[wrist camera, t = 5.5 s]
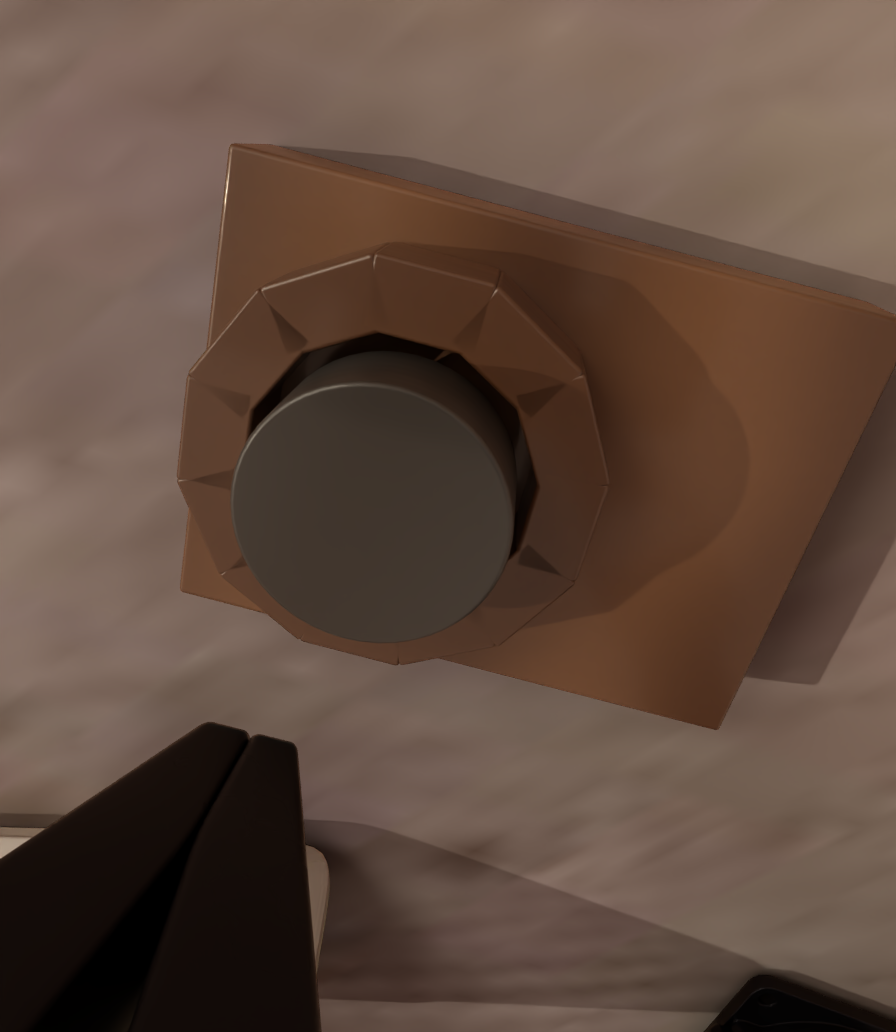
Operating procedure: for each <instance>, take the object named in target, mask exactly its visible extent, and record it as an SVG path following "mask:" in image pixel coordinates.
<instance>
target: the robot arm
mask: <svg viewBox="0 0 896 1032" xmlns="http://www.w3.org/2000/svg"><path fill="white" fill-rule="evenodd" d="M0 1032H321V1020H320V1008H319V996H318V984H317V973H316V961H315V949H314V937H313V926H312V914H311V902H310V890H309V878H308V867H307V855H306V843H305V831H304V820H303V808H302V796H301V784H300V772H299V761H298V750H297V748H296V746H295V744H294V743H292V742H289V741H285V740H281V739H277V738H273V737H269V736H265V735H261V734H257V735H254V736H252V737H251V738H250V736H249V734H248V733H247V732H246V731H245V730H242V729H238V728H234V727H230V726H226V725H222V724H218V723H214V722H207V723H203V724H201V725H199V726H198V727H196V728H195V729H193V730H192V731H190V732H189V733H187V734H186V735H184V736H183V737H181V738H180V739H178V740H177V741H175V742H174V743H172V744H171V745H169V746H168V747H166V748H165V749H163V750H162V751H160V752H159V753H157V754H156V755H154V756H153V757H151V758H150V759H148V760H147V761H146V762H144V763H143V764H141V765H140V766H138V767H137V768H135V769H134V770H132V771H131V772H129V773H128V774H126V775H125V776H123V777H122V778H120V779H119V780H117V781H116V782H114V783H113V784H111V785H110V786H108V787H107V788H105V789H104V790H102V791H101V792H99V793H98V794H96V795H95V796H93V797H92V798H90V799H89V800H87V801H86V802H84V803H83V804H81V805H80V806H78V807H77V808H75V809H74V810H72V811H71V812H69V813H68V814H66V815H65V816H63V817H62V818H60V819H59V820H57V821H56V822H54V823H53V824H51V825H50V826H48V827H47V828H45V829H44V830H42V831H41V832H39V833H38V834H36V835H35V836H33V837H32V838H30V839H29V840H27V841H26V842H24V843H23V844H21V845H20V846H18V847H17V848H15V849H14V850H12V851H11V852H9V853H8V854H6V855H5V856H3V857H2V858H0ZM704 1032H896V1022H894V1021H892V1020H889V1019H886V1018H884V1017H881V1016H878V1015H875V1014H873V1013H870V1012H867V1011H865V1010H862V1009H859V1008H857V1007H854V1006H851V1005H849V1004H846V1003H843V1002H840V1001H838V1000H835V999H832V998H830V997H827V996H824V995H822V994H819V993H816V992H814V991H811V990H808V989H805V988H803V987H800V986H797V985H795V984H792V983H789V982H787V981H784V980H781V979H778V978H776V977H773V976H769V975H759V976H756V977H753V978H751V979H750V980H749V981H748V982H747V983H746V984H745V985H744V986H743V987H742V989H741V990H740V991H739V992H738V993H737V994H736V995H735V997H734V998H733V999H732V1000H731V1001H730V1002H729V1003H728V1005H727V1006H726V1007H725V1008H724V1009H723V1010H722V1012H721V1013H720V1014H719V1015H718V1016H717V1017H716V1018H715V1020H714V1021H713V1022H712V1023H711V1024H710V1025H709V1026H708V1028H707V1029H706V1030H705V1031H704Z"/></svg>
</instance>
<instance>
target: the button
mask: <svg viewBox="0 0 896 1032" xmlns="http://www.w3.org/2000/svg"><path fill="white" fill-rule="evenodd" d="M516 484H517V472H516V460H515V455H514V450H513V446H512V443H511V440H510V437H509V434H508V432H507V429H506V428H505V426H504V424H503V422H502V420H501V418H500V416H499V414H498V413H497V412H496V410H495V409H494V407H493V406H492V404H491V403H490V402H489V400H488V399H487V398H486V397H485V396H484V395H483V394H482V393H481V392H480V391H479V389H477V388H476V387H475V386H474V385H473V384H472V383H470V382H469V381H468V380H467V379H466V378H464V377H463V376H461V375H460V374H458V373H457V372H455V371H453V370H452V369H450V368H448V367H446V366H444V365H442V364H440V363H438V362H436V361H434V360H431V359H428V358H425V357H422V356H419V355H414V354H409V353H404V352H395V351H372V352H363V353H358V354H353V355H349V356H346V357H343V358H340V359H337V360H335V361H332V362H330V363H328V364H326V365H325V366H323V367H321V368H319V369H317V370H316V371H315V372H313V373H312V374H310V375H309V376H308V377H306V378H305V379H304V380H303V381H302V382H301V383H300V384H299V385H298V386H297V387H296V388H295V389H294V390H293V391H292V392H291V393H290V394H288V395H287V396H286V397H285V398H284V399H283V400H282V401H281V402H280V403H279V404H278V405H277V406H276V407H275V408H274V409H273V410H272V411H271V412H270V413H269V414H268V415H267V416H266V417H265V418H264V419H263V420H262V421H261V422H260V423H259V424H258V426H257V427H256V428H255V430H254V431H253V432H252V434H251V435H250V436H249V438H248V440H247V441H246V443H245V445H244V447H243V449H242V450H241V452H240V455H239V458H238V460H237V463H236V466H235V469H234V474H233V479H232V483H231V497H230V505H231V518H232V523H233V528H234V533H235V537H236V540H237V543H238V545H239V548H240V551H241V553H242V555H243V557H244V559H245V561H246V563H247V565H248V567H249V569H250V570H251V572H252V573H253V575H254V576H255V578H256V579H257V581H258V582H259V583H260V584H261V586H262V587H263V588H264V589H265V590H266V591H267V593H268V594H269V595H270V596H271V597H272V598H273V599H274V600H276V601H277V602H278V603H279V604H280V605H281V606H282V607H283V608H285V609H286V610H287V611H289V612H290V613H291V614H293V615H294V616H295V617H297V618H299V619H300V620H302V621H304V622H306V623H307V624H309V625H311V626H313V627H315V628H317V629H319V630H322V631H324V632H326V633H329V634H332V635H335V636H338V637H341V638H345V639H350V640H355V641H360V642H369V643H398V642H405V641H412V640H416V639H420V638H424V637H428V636H430V635H433V634H435V633H438V632H440V631H443V630H445V629H447V628H449V627H450V626H452V625H454V624H456V623H458V622H459V621H461V620H462V619H463V618H465V617H466V616H467V615H469V614H470V613H471V612H473V611H474V610H475V609H476V608H477V607H478V606H479V605H480V604H481V603H482V602H483V601H484V600H485V599H486V598H487V596H488V595H489V594H490V592H491V591H492V590H493V589H494V587H495V586H496V584H497V582H498V580H499V579H500V577H501V575H502V573H503V571H504V569H505V566H506V563H507V561H508V558H509V555H510V551H511V546H512V542H513V533H514V519H515V502H516Z"/></svg>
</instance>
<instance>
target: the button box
mask: <svg viewBox="0 0 896 1032" xmlns="http://www.w3.org/2000/svg"><path fill="white" fill-rule="evenodd" d="M372 351H395V352H404V353H409V354H414V355H419V356H422V357H425V358H428V359H431V360H434V361H436V362H438V363H440V364H442V365H444V366H446V367H448V368H450V369H452V370H453V371H455V372H457V373H458V374H460V375H461V376H463V377H464V378H466V379H467V380H468V381H469V382H470V383H472V384H473V385H474V386H475V387H476V388H477V389H479V391H480V392H481V393H482V394H483V395H484V396H485V397H486V398H487V399H488V400H489V402H490V403H491V404H492V406H493V407H494V409H495V410H496V412H497V413H498V414H499V416H500V418H501V420H502V422H503V424H504V426H505V428H506V429H507V432H508V434H509V437H510V440H511V443H512V446H513V450H514V455H515V460H516V472H517V484H516V502H515V519H514V533H513V542H512V546H511V551H510V555H509V558H508V561H507V563H506V566H505V569H504V571H503V573H502V575H501V577H500V579H499V580H498V582H497V584H496V586H495V587H494V589H493V590H492V591H491V592H490V594H489V595H488V596H487V598H486V599H485V600H484V601H483V602H482V603H481V604H480V605H479V606H478V607H477V608H476V609H475V610H474V611H473V612H471V613H470V614H469V615H467V616H466V617H465V618H463V619H462V620H461V621H459V622H458V623H456V624H454V625H452V626H450V627H449V628H447V629H445V630H443V631H440V632H438V633H435V634H433V635H430V636H428V637H424V638H420V639H416V640H412V641H405V642H398V643H369V642H360V641H355V640H350V639H345V638H341V637H338V636H335V635H332V634H329V633H326V632H324V631H322V630H319V629H317V628H315V627H313V626H311V625H309V624H307V623H306V622H304V621H302V620H300V619H299V618H297V617H295V616H294V615H293V614H291V613H290V612H289V611H287V610H286V609H285V608H283V607H282V606H281V605H280V604H279V603H278V602H277V601H276V600H274V599H273V598H272V597H271V596H270V595H269V594H268V593H267V591H266V590H265V589H264V588H263V587H262V586H261V584H260V583H259V582H258V581H257V579H256V578H255V576H254V575H253V573H252V572H251V570H250V569H249V567H248V565H247V563H246V561H245V559H244V557H243V555H242V553H241V551H240V548H239V545H238V543H237V540H236V537H235V533H234V528H233V523H232V518H231V505H230V497H231V483H232V479H233V474H234V469H235V466H236V463H237V460H238V458H239V455H240V452H241V450H242V449H243V447H244V445H245V443H246V441H247V440H248V438H249V436H250V435H251V434H252V432H253V431H254V430H255V428H256V427H257V426H258V424H259V423H260V422H261V421H262V420H263V419H264V418H265V417H266V416H267V415H268V414H269V413H270V412H271V411H272V410H273V409H274V408H275V407H276V406H277V405H278V404H279V403H280V402H281V401H282V400H283V399H284V398H285V397H286V396H287V395H288V394H290V393H291V392H292V391H293V390H294V389H295V388H296V387H297V386H298V385H299V384H300V383H301V382H302V381H303V380H304V379H305V378H306V377H308V376H309V375H310V374H312V373H313V372H315V371H316V370H317V369H319V368H321V367H323V366H325V365H326V364H328V363H330V362H332V361H335V360H337V359H340V358H343V357H346V356H349V355H353V354H358V353H363V352H372ZM895 365H896V315H894V314H892V313H890V312H888V311H885V310H883V309H881V308H879V307H877V306H874V305H872V304H870V303H868V302H865V301H861V300H857V299H854V298H850V297H846V296H842V295H839V294H835V293H831V292H827V291H823V290H820V289H816V288H812V287H808V286H804V285H801V284H797V283H793V282H789V281H786V280H782V279H778V278H774V277H770V276H767V275H763V274H759V273H755V272H751V271H748V270H744V269H740V268H736V267H733V266H729V265H725V264H721V263H717V262H714V261H710V260H706V259H702V258H699V257H695V256H691V255H687V254H683V253H680V252H676V251H672V250H668V249H664V248H661V247H657V246H653V245H649V244H646V243H642V242H638V241H634V240H630V239H627V238H623V237H619V236H615V235H611V234H608V233H604V232H600V231H596V230H593V229H589V228H585V227H581V226H577V225H574V224H570V223H566V222H562V221H559V220H555V219H551V218H547V217H543V216H540V215H536V214H532V213H528V212H524V211H521V210H517V209H513V208H509V207H506V206H502V205H498V204H494V203H490V202H487V201H483V200H479V199H475V198H472V197H468V196H464V195H460V194H456V193H453V192H449V191H445V190H441V189H437V188H434V187H430V186H426V185H422V184H419V183H415V182H411V181H407V180H403V179H400V178H396V177H392V176H388V175H384V174H381V173H377V172H373V171H369V170H366V169H362V168H358V167H354V166H350V165H347V164H343V163H339V162H335V161H332V160H328V159H324V158H320V157H316V156H313V155H309V154H305V153H301V152H297V151H294V150H290V149H286V148H282V147H279V146H275V145H271V144H236V143H235V144H231V145H230V147H229V153H228V162H227V171H226V180H225V189H224V198H223V207H222V216H221V225H220V234H219V243H218V252H217V261H216V269H215V278H214V287H213V296H212V305H211V314H210V323H209V332H208V341H207V350H206V351H205V352H204V353H203V355H202V356H201V357H200V358H199V359H198V361H197V362H196V363H195V364H194V366H193V367H192V368H191V369H190V370H189V375H188V377H187V382H186V392H185V402H184V411H183V421H182V431H181V441H180V450H179V460H178V470H177V478H178V485H179V487H180V489H181V491H182V493H183V496H184V498H185V500H186V502H187V505H188V507H189V511H188V520H187V529H186V538H185V547H184V556H183V565H182V574H181V583H180V590H181V591H182V592H185V593H189V594H193V595H197V596H200V597H204V598H208V599H212V600H216V601H220V602H224V603H227V604H231V605H235V606H239V607H243V608H247V609H251V610H254V611H258V612H262V613H266V614H268V615H269V616H270V617H271V618H272V619H274V620H275V621H276V622H277V623H279V624H280V625H281V626H282V627H283V628H285V629H286V630H287V631H288V632H290V633H291V634H292V635H293V636H294V637H296V638H297V639H301V640H302V641H304V642H308V643H311V644H315V645H319V646H323V647H327V648H331V649H335V650H338V651H342V652H346V653H350V654H354V655H358V656H362V657H366V658H369V659H373V660H377V661H381V662H385V663H389V664H393V665H398V664H399V663H400V664H401V665H404V664H410V663H415V662H420V661H425V660H430V659H435V658H440V659H444V660H448V661H451V662H455V663H459V664H463V665H467V666H471V667H475V668H478V669H482V670H486V671H490V672H494V673H498V674H502V675H505V676H509V677H513V678H517V679H521V680H525V681H529V682H532V683H536V684H540V685H544V686H548V687H552V688H556V689H560V690H563V691H567V692H571V693H575V694H579V695H583V696H587V697H590V698H594V699H598V700H602V701H606V702H610V703H614V704H617V705H621V706H625V707H629V708H633V709H637V710H641V711H644V712H648V713H652V714H656V715H660V716H664V717H668V718H671V719H675V720H679V721H683V722H687V723H691V724H695V725H699V726H702V727H706V728H710V729H714V730H718V729H719V728H720V726H721V723H722V721H723V719H724V717H725V715H726V713H727V711H728V709H729V707H730V705H731V703H732V701H733V699H734V697H735V695H736V693H737V691H738V688H739V686H740V684H741V682H742V680H743V678H744V676H745V674H746V672H747V670H748V668H749V666H750V664H751V662H752V660H753V658H754V656H755V653H756V651H757V649H758V647H759V645H760V643H761V641H762V639H763V637H764V635H765V633H766V631H767V629H768V627H769V625H770V623H771V621H772V618H773V616H774V614H775V612H776V610H777V608H778V606H779V604H780V602H781V600H782V598H783V596H784V594H785V592H786V590H787V588H788V586H789V583H790V581H791V579H792V577H793V575H794V573H795V571H796V569H797V567H798V565H799V563H800V561H801V559H802V557H803V555H804V553H805V551H806V549H807V546H808V544H809V542H810V540H811V538H812V536H813V534H814V532H815V530H816V528H817V526H818V524H819V522H820V520H821V518H822V516H823V514H824V511H825V509H826V507H827V505H828V503H829V501H830V499H831V497H832V495H833V493H834V491H835V489H836V487H837V485H838V483H839V481H840V479H841V476H842V474H843V472H844V470H845V468H846V466H847V464H848V462H849V460H850V458H851V456H852V454H853V452H854V450H855V448H856V446H857V444H858V441H859V439H860V437H861V435H862V433H863V431H864V429H865V427H866V425H867V423H868V421H869V419H870V417H871V415H872V413H873V411H874V409H875V406H876V404H877V402H878V400H879V398H880V396H881V394H882V392H883V390H884V388H885V386H886V384H887V382H888V380H889V378H890V376H891V374H892V372H893V369H894V367H895Z"/></svg>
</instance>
